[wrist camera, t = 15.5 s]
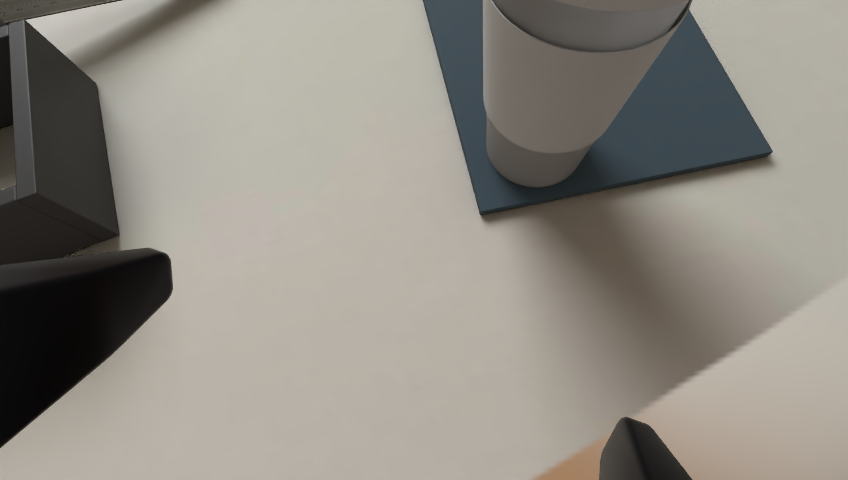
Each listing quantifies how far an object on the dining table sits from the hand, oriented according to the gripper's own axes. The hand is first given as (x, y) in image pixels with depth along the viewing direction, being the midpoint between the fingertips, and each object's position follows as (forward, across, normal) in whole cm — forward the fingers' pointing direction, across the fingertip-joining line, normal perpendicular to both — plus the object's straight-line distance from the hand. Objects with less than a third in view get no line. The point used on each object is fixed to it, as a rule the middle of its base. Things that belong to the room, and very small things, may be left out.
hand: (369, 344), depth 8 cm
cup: (+16, -2, -1) cm, 16 cm away
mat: (+20, -2, -6) cm, 21 cm away
